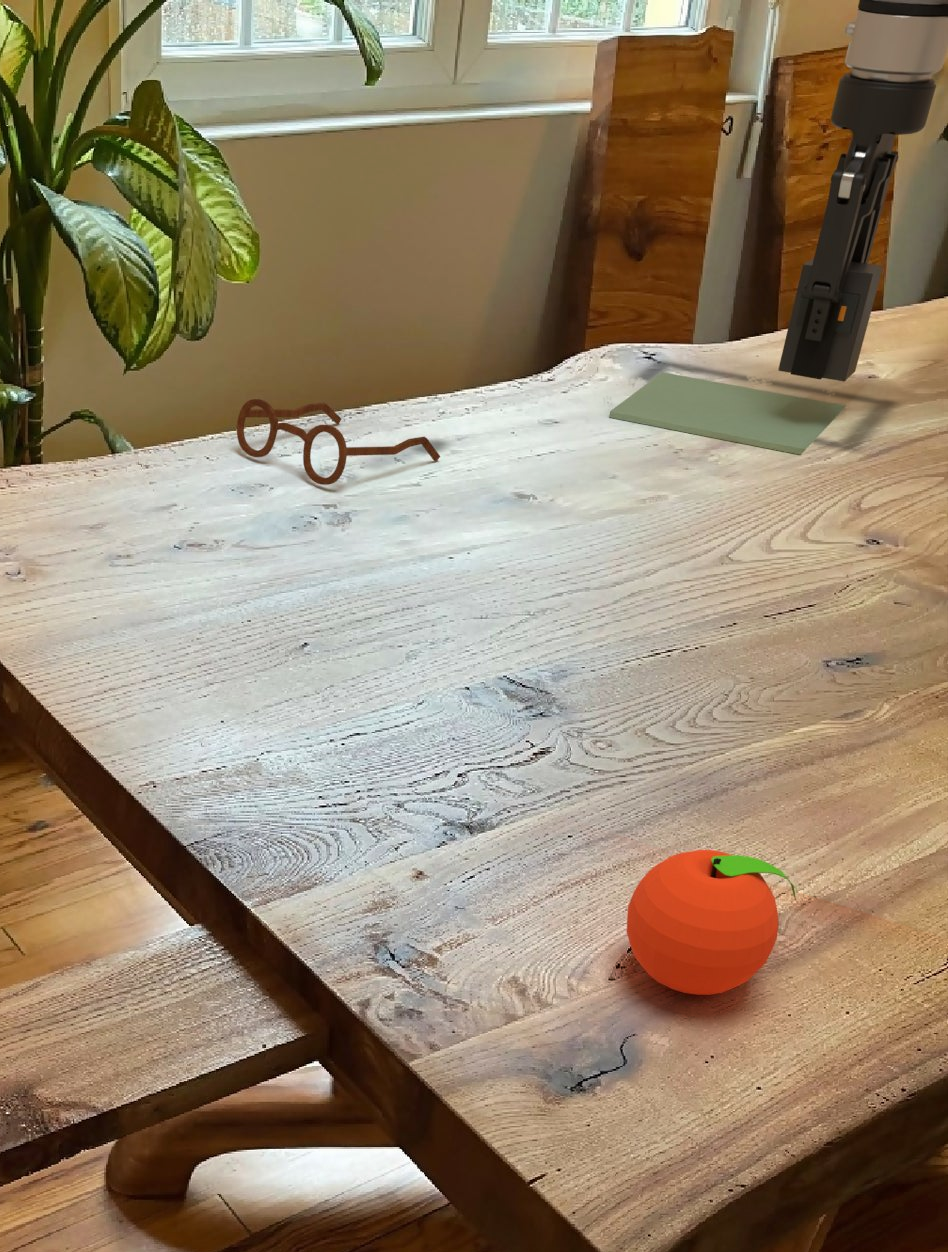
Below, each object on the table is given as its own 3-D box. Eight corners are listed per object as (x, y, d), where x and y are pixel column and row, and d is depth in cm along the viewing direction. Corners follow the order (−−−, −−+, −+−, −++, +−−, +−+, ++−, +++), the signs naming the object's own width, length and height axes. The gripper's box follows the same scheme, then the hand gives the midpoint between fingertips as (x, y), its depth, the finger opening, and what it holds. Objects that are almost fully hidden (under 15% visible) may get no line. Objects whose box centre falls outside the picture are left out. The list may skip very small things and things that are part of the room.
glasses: (232, 453, 130) (234, 395, 127) (338, 423, 137) (341, 367, 134) (336, 496, 122) (340, 435, 119) (442, 461, 129) (449, 403, 126)
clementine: (742, 929, 75) (777, 812, 71) (804, 1016, 70) (846, 895, 66) (593, 942, 74) (619, 823, 70) (645, 1031, 69) (676, 908, 65)
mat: (883, 418, 141) (885, 412, 140) (844, 463, 131) (846, 456, 130) (660, 378, 150) (662, 372, 149) (608, 417, 140) (609, 411, 139)
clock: (855, 371, 135) (883, 265, 130) (843, 382, 132) (872, 274, 127) (789, 361, 137) (814, 256, 132) (776, 371, 134) (801, 265, 129)
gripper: (868, 58, 128) (798, 339, 142) (815, 81, 116) (745, 385, 130) (958, 66, 125) (877, 353, 139) (914, 91, 113) (831, 401, 127)
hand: (814, 368), depth 135 cm, fingers closed on clock, 4 cm apart
